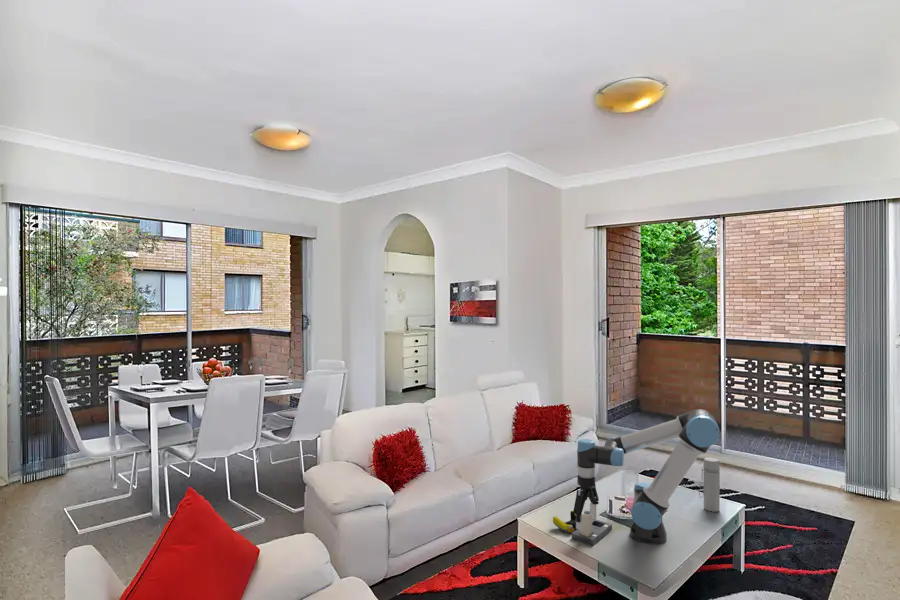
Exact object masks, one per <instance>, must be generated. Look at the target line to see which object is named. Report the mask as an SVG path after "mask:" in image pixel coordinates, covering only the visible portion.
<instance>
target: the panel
mask: <svg viewBox="0 0 900 600" xmlns="http://www.w3.org/2000/svg"><path fill="white" fill-rule="evenodd" d="M611 531H613V524H612V523H609V522H606V521H603V520H598V519H596V520H595V519H592V535H591V536H590V537H587V536H584V535H581V534H580V529H577V530H575V531H574V532H572V533H571V540H572V541H573V540H574V541H577V542H580V543H583V544H586V545H589V546H592V547H593V546H595V545H596V544H597V543H598V542H599V541H600V540H601V539H604V538H605V536H606V535H608V534H609V533H610V532H611Z"/></svg>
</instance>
